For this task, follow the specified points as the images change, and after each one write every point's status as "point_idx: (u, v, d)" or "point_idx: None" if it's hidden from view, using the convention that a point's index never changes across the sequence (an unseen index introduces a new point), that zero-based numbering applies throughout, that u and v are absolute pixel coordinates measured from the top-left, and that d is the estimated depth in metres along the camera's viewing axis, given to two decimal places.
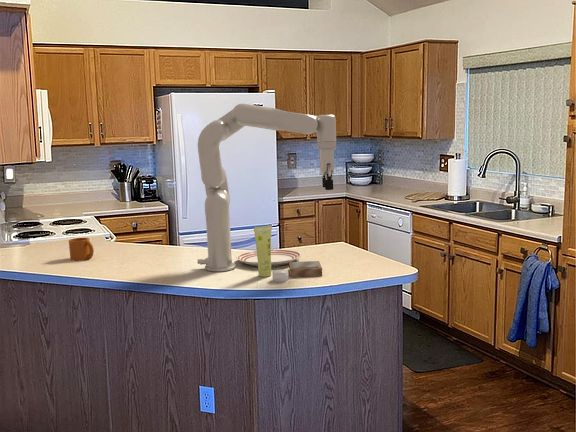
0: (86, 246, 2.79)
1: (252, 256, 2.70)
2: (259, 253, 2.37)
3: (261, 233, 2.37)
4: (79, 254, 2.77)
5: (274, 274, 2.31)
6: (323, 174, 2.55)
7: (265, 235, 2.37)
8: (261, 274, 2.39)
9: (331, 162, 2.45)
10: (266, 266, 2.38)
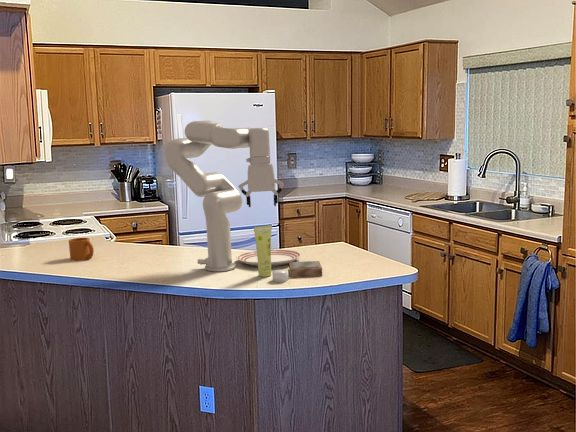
0: (86, 246, 2.79)
1: (252, 256, 2.70)
2: (259, 253, 2.37)
3: (261, 233, 2.37)
4: (79, 254, 2.77)
5: (274, 274, 2.31)
6: None
7: (265, 235, 2.37)
8: (261, 274, 2.39)
9: None
10: (266, 266, 2.38)
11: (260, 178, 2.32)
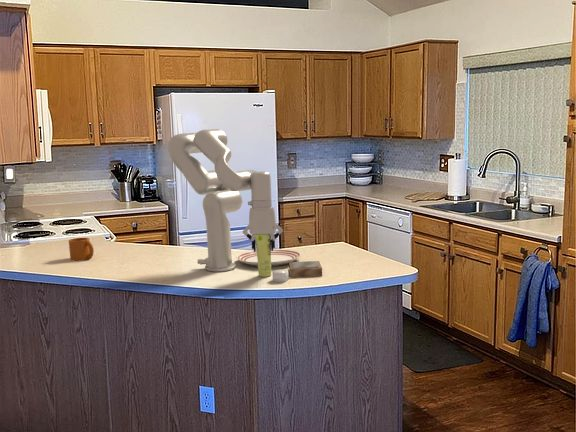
0: (86, 246, 2.79)
1: (252, 256, 2.70)
2: (259, 253, 2.37)
3: None
4: (79, 254, 2.77)
5: (274, 274, 2.31)
6: None
7: (265, 235, 2.37)
8: (261, 274, 2.39)
9: None
10: (266, 266, 2.38)
11: (261, 221, 2.35)
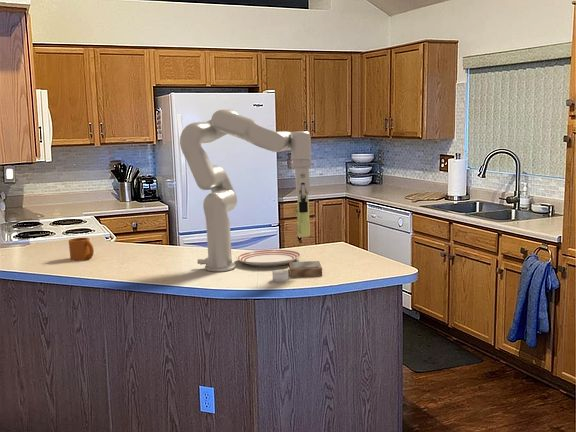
0: (86, 246, 2.79)
1: (252, 256, 2.70)
2: (308, 212, 2.38)
3: None
4: (79, 254, 2.77)
5: (274, 274, 2.31)
6: (306, 196, 2.36)
7: None
8: (308, 233, 2.40)
9: None
10: None
11: None
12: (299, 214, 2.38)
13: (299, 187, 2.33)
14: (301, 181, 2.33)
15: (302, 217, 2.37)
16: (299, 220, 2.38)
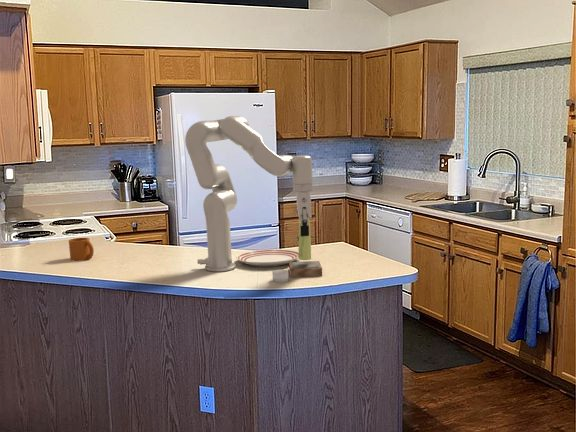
0: (86, 246, 2.79)
1: (252, 256, 2.70)
2: (309, 236, 2.39)
3: None
4: (79, 254, 2.77)
5: (274, 274, 2.31)
6: (307, 220, 2.37)
7: None
8: (310, 257, 2.41)
9: None
10: None
11: None
12: (300, 237, 2.40)
13: (300, 211, 2.34)
14: (303, 205, 2.34)
15: (303, 241, 2.39)
16: (300, 243, 2.40)
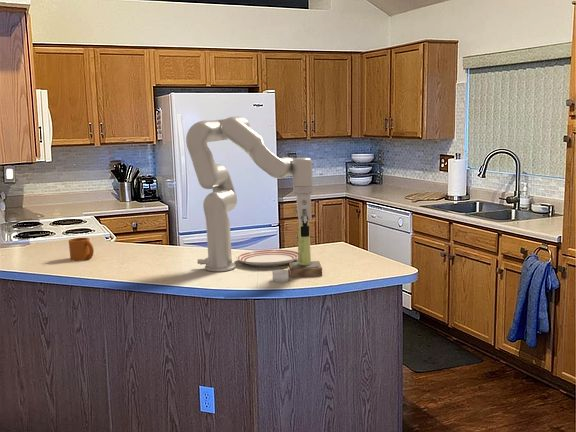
0: (86, 246, 2.79)
1: (252, 256, 2.70)
2: (309, 241, 2.40)
3: None
4: (79, 254, 2.77)
5: (274, 274, 2.31)
6: None
7: None
8: (309, 262, 2.42)
9: None
10: None
11: None
12: (300, 243, 2.40)
13: (301, 213, 2.35)
14: (303, 207, 2.34)
15: (303, 246, 2.39)
16: (300, 249, 2.40)
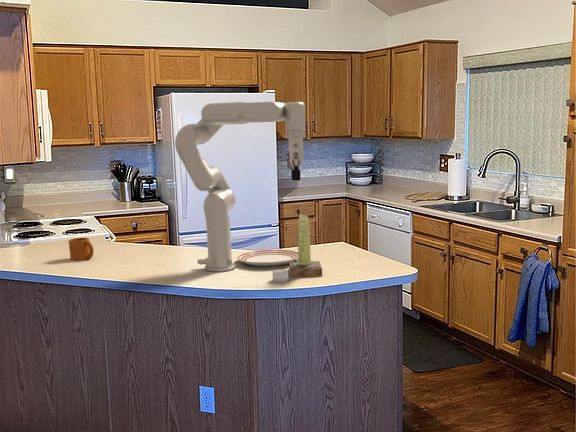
0: (86, 246, 2.79)
1: (252, 256, 2.70)
2: (309, 241, 2.40)
3: None
4: (79, 254, 2.77)
5: (274, 274, 2.31)
6: None
7: None
8: (309, 262, 2.42)
9: None
10: None
11: None
12: (300, 243, 2.40)
13: (292, 157, 2.35)
14: (294, 151, 2.35)
15: (303, 246, 2.39)
16: (300, 249, 2.40)
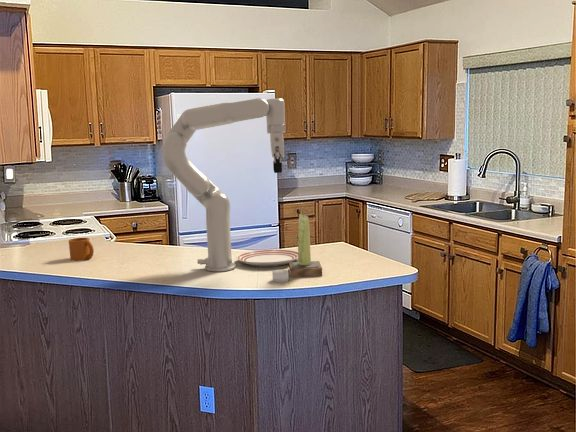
0: (86, 246, 2.79)
1: (252, 256, 2.70)
2: (309, 241, 2.40)
3: None
4: (79, 254, 2.77)
5: (274, 274, 2.31)
6: (280, 159, 2.50)
7: None
8: (309, 262, 2.42)
9: None
10: None
11: None
12: (300, 243, 2.40)
13: (274, 150, 2.48)
14: (276, 145, 2.48)
15: (303, 246, 2.39)
16: (300, 249, 2.40)
